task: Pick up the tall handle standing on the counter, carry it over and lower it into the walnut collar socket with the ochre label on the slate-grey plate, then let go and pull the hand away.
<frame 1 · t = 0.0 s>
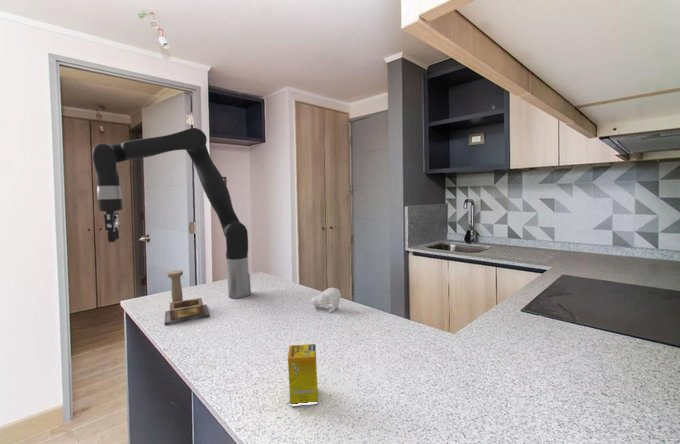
hand: (113, 240, 126), 29 cm above the countertop, tool pointing down, fingers open, 8 cm apart
supplement box: (304, 398, 72), on the countertop
handle: (178, 308, 134), on the countertop
white animal figurine: (325, 309, 127), on the countertop
socket: (187, 315, 125), on the countertop
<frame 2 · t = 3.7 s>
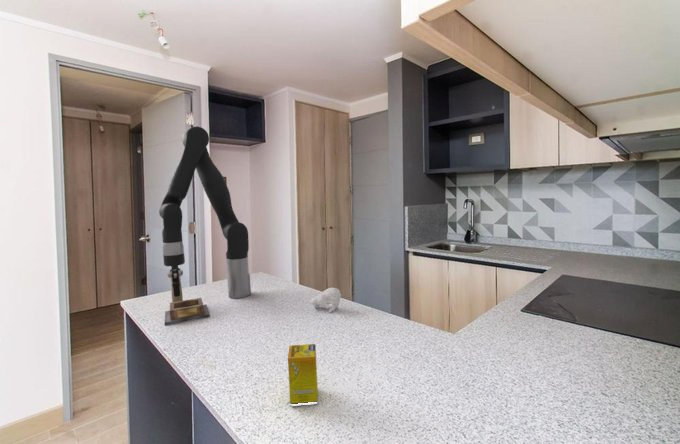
hand: (177, 294, 133), 6 cm above the countertop, tool pointing down, fingers closed on handle, 4 cm apart
handle: (178, 308, 134), on the countertop, touching gripper
everything else where it was.
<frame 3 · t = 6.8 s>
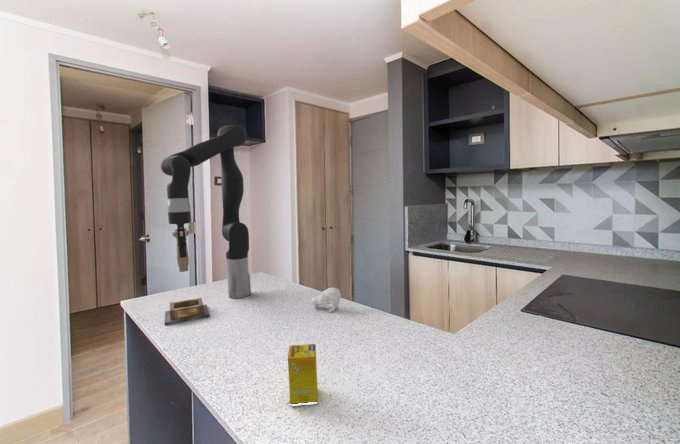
hand: (182, 256, 123), 23 cm above the countertop, tool pointing down, fingers closed on handle, 4 cm apart
handle: (183, 271, 124), point 17 cm above the countertop, touching gripper
everything else where it was.
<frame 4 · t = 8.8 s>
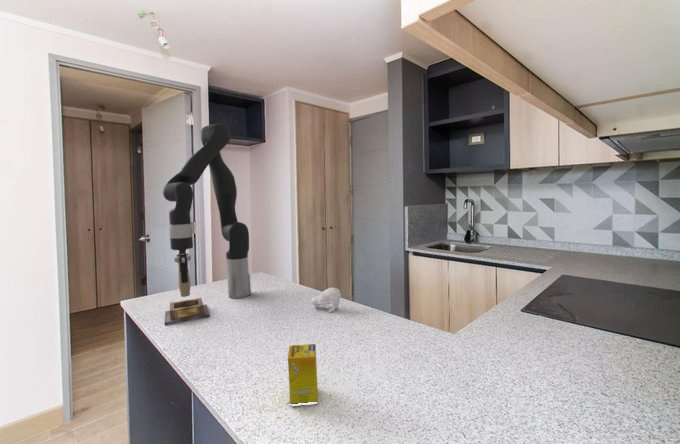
hand: (184, 280, 124), 13 cm above the countertop, tool pointing down, fingers closed on handle, 4 cm apart
handle: (185, 296, 125), point 7 cm above the countertop, touching gripper
everything else where it was.
when the fingers open (9 cm above the countertop, at t = 10.4 s): handle drops 2 cm, resting on socket.
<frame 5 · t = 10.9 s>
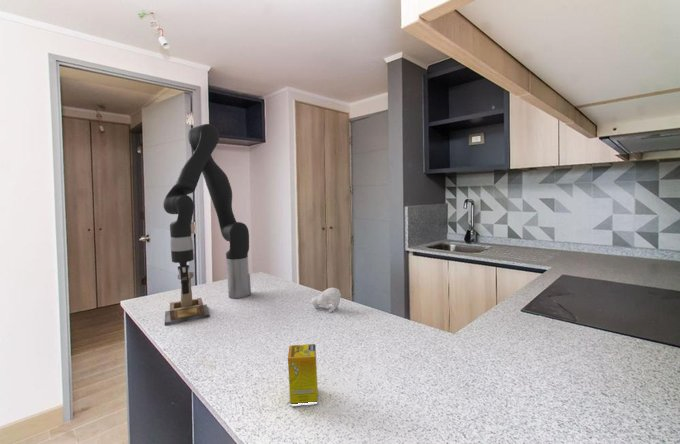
hand: (185, 290, 124), 10 cm above the countertop, tool pointing down, fingers open, 8 cm apart
handle: (187, 313, 125), point 1 cm above the countertop, touching socket
everything else where it was.
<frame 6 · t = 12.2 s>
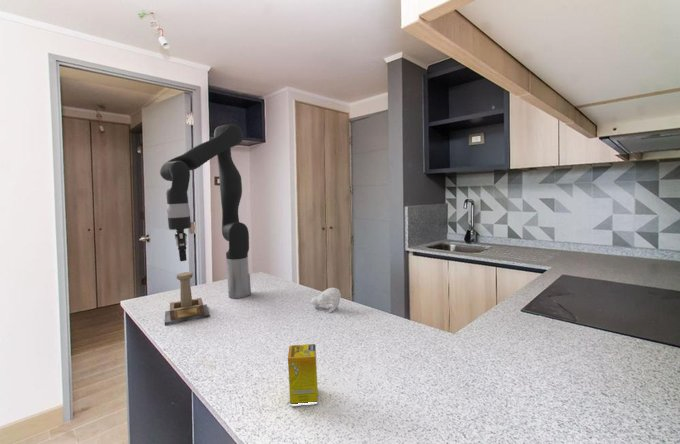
hand: (182, 258, 123), 22 cm above the countertop, tool pointing down, fingers open, 8 cm apart
nothing on the countertop moved.
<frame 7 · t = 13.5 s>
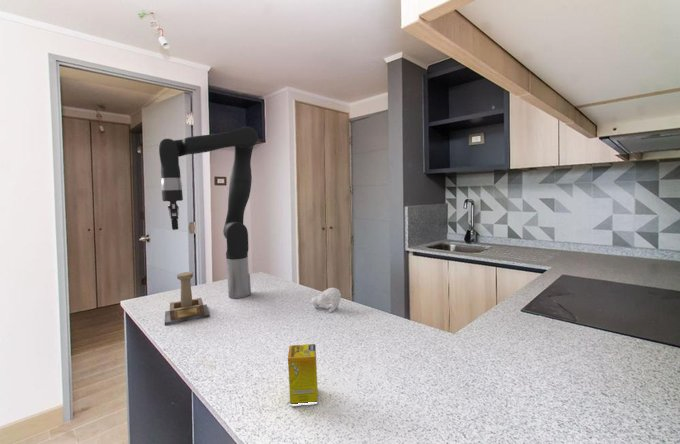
hand: (175, 228, 136), 32 cm above the countertop, tool pointing down, fingers open, 8 cm apart
nothing on the countertop moved.
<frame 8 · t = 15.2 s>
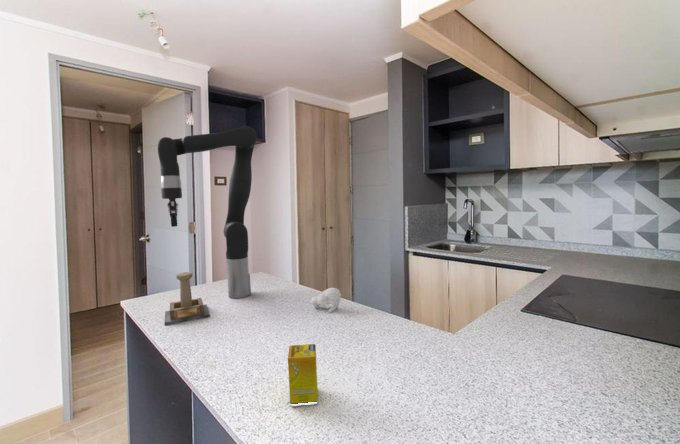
hand: (174, 225, 138), 33 cm above the countertop, tool pointing down, fingers open, 8 cm apart
nothing on the countertop moved.
at the end: handle 0.1 cm off-centre on the socket, point 0.8 cm above the socket's base; handle tilted 1°; the gripper is holding nothing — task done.
